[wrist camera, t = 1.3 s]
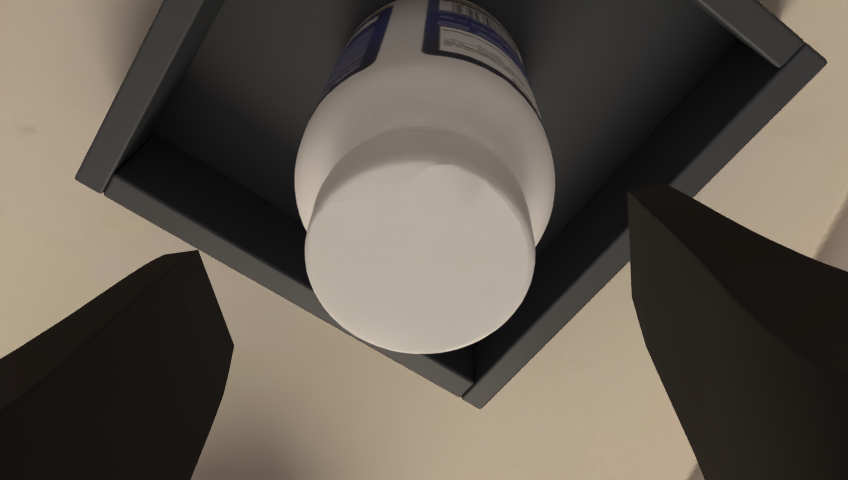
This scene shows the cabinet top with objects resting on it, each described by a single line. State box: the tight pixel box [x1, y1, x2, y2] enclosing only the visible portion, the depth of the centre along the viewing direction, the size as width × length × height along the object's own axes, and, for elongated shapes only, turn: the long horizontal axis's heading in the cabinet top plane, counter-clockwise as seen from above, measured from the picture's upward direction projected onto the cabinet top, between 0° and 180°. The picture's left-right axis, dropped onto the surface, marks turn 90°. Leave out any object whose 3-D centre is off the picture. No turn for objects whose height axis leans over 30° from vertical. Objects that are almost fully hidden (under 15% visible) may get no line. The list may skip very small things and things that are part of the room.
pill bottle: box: [294, 0, 555, 354], centre depth 17 cm, size 5×5×10 cm
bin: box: [75, 0, 827, 409], centre depth 20 cm, size 14×14×3 cm
